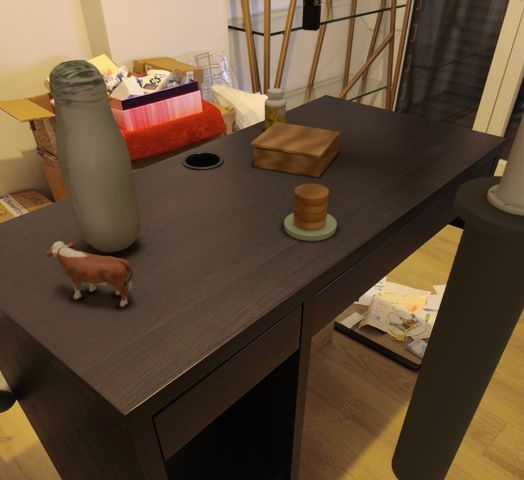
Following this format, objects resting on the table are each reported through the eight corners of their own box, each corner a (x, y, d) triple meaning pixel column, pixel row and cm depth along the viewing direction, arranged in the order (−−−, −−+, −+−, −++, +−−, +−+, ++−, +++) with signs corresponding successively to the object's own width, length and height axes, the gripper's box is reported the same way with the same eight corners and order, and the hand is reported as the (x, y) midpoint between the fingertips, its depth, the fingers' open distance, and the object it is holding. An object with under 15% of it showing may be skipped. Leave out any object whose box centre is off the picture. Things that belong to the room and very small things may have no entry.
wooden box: (254, 166, 107) (253, 148, 105) (278, 143, 118) (279, 126, 115) (318, 177, 103) (319, 158, 100) (338, 152, 113) (340, 134, 110)
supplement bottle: (289, 131, 124) (290, 90, 118) (273, 135, 122) (273, 94, 115) (276, 125, 127) (277, 85, 121) (260, 130, 125) (260, 89, 118)
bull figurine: (69, 279, 75) (53, 233, 70) (144, 295, 72) (134, 248, 67) (51, 295, 72) (33, 248, 67) (129, 312, 69) (117, 264, 64)
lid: (250, 146, 105) (250, 143, 104) (276, 124, 115) (276, 121, 114) (319, 158, 100) (320, 155, 100) (340, 134, 110) (340, 131, 110)
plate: (342, 220, 89) (343, 215, 88) (327, 245, 83) (327, 240, 82) (294, 211, 92) (294, 206, 91) (275, 234, 85) (276, 229, 85)
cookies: (330, 218, 88) (333, 186, 83) (320, 233, 84) (322, 201, 79) (299, 212, 89) (301, 181, 85) (288, 226, 85) (289, 194, 81)
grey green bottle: (117, 268, 78) (67, 75, 59) (73, 250, 82) (14, 64, 63) (157, 241, 84) (125, 58, 65) (115, 226, 88) (73, 50, 69)
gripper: (325, -98, 76) (317, 38, 88) (350, -98, 86) (339, 24, 98) (281, -98, 78) (279, 35, 90) (310, -98, 88) (305, 22, 100)
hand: (310, 29), depth 94 cm, fingers closed
